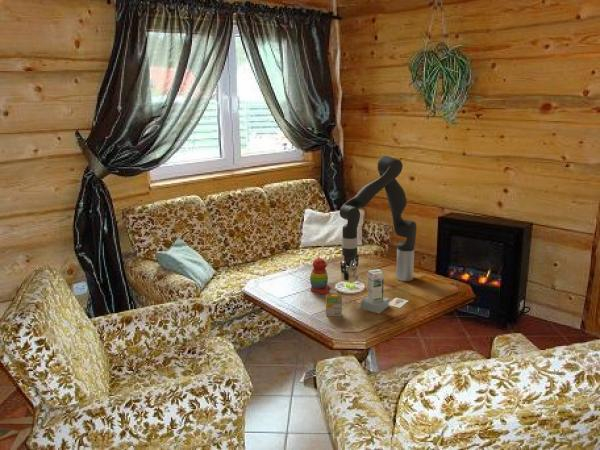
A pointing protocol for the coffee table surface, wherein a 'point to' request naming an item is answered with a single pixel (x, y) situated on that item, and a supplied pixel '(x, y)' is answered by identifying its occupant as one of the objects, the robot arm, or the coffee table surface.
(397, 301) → the page
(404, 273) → the robot arm
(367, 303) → the base brick
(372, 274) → the syrup box
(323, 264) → the stacking bear
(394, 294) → the coffee table surface
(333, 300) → the crayon box
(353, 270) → the birch cube
